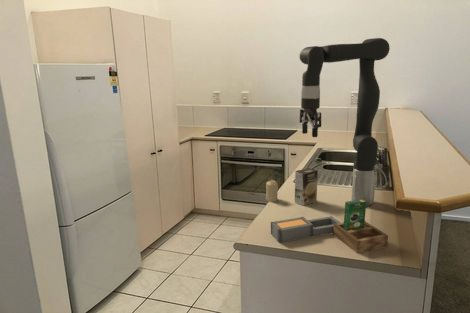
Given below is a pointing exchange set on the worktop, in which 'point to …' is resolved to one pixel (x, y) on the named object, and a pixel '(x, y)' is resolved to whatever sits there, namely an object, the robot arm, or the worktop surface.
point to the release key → (291, 224)
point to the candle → (272, 190)
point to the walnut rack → (361, 237)
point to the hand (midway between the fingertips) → (309, 135)
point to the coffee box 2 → (354, 214)
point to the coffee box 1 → (306, 186)
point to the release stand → (303, 229)
